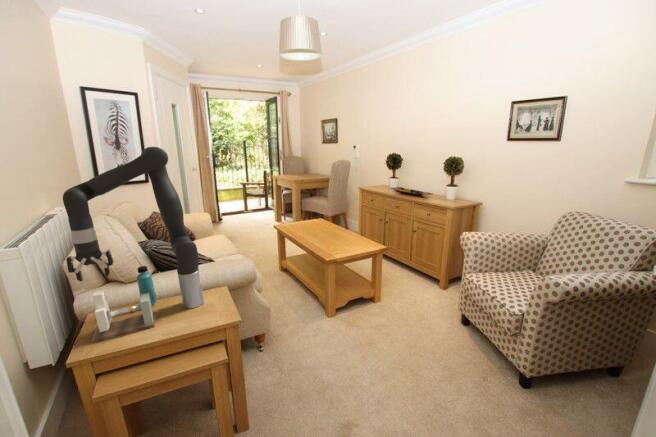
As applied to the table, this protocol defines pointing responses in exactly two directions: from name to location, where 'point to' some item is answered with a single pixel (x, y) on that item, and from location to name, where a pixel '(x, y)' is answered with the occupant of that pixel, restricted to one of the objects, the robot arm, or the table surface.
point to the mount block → (146, 308)
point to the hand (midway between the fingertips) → (94, 278)
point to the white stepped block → (101, 311)
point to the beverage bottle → (146, 283)
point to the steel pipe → (123, 311)
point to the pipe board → (122, 328)
